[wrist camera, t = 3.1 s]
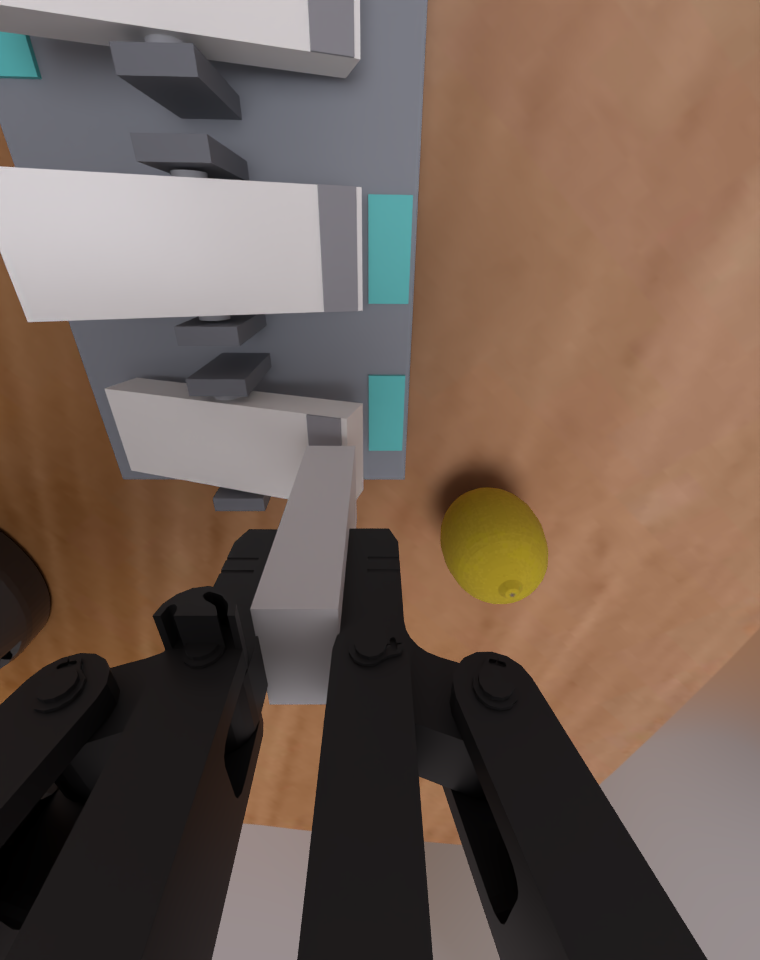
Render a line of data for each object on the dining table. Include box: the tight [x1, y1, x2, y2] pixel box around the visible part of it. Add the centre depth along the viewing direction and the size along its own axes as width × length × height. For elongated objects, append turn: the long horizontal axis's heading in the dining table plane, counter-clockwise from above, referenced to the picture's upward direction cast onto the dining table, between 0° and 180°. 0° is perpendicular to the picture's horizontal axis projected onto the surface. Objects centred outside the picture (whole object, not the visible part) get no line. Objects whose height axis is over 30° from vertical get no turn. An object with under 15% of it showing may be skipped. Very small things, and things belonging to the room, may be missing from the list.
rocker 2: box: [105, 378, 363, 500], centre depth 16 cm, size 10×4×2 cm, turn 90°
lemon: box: [441, 487, 548, 604], centre depth 23 cm, size 6×6×8 cm
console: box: [0, 0, 428, 511], centre depth 15 cm, size 14×20×8 cm
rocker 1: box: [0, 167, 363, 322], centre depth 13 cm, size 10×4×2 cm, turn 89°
